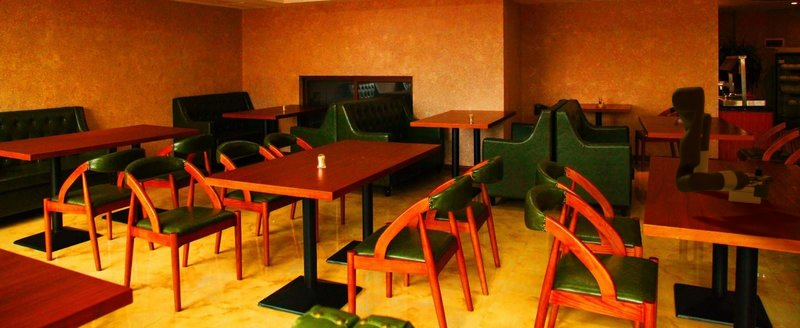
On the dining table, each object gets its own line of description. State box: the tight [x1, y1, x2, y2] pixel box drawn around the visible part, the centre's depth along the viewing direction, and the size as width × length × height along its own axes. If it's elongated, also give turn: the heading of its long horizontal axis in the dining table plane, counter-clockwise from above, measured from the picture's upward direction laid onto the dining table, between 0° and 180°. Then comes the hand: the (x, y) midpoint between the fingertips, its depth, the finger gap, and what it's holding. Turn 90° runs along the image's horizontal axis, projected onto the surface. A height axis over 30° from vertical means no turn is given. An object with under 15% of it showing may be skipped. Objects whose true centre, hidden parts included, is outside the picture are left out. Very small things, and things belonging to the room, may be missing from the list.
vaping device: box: [753, 164, 771, 199], centre depth 235 cm, size 3×5×12 cm, turn 50°
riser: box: [728, 186, 762, 204], centre depth 251 cm, size 11×11×4 cm
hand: (768, 178), depth 235 cm, fingers closed on vaping device, 4 cm apart
